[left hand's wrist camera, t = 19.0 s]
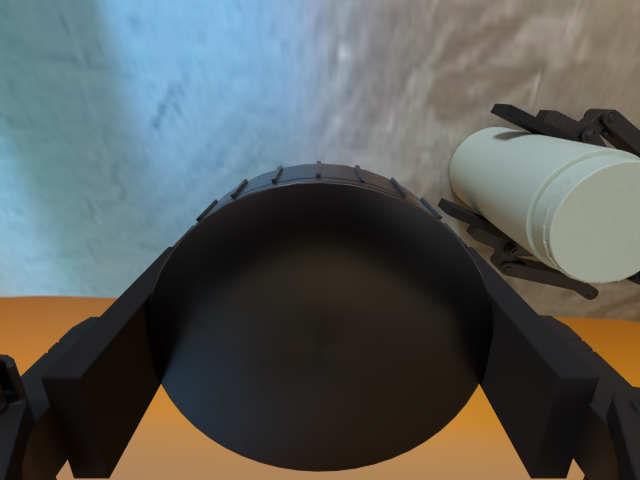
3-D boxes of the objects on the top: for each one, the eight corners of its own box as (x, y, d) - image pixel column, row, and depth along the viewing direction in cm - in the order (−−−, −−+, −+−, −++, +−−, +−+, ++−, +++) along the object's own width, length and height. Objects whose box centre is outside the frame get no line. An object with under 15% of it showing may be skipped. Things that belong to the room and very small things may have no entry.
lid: (316, 453, 15) (316, 515, 12) (116, 301, 12) (72, 346, 10) (521, 308, 12) (564, 355, 10) (324, 86, 10) (326, 85, 8)
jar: (437, 150, 38) (528, 195, 21) (517, 111, 36) (679, 128, 20) (463, 219, 40) (562, 307, 24) (539, 186, 39) (698, 254, 23)
